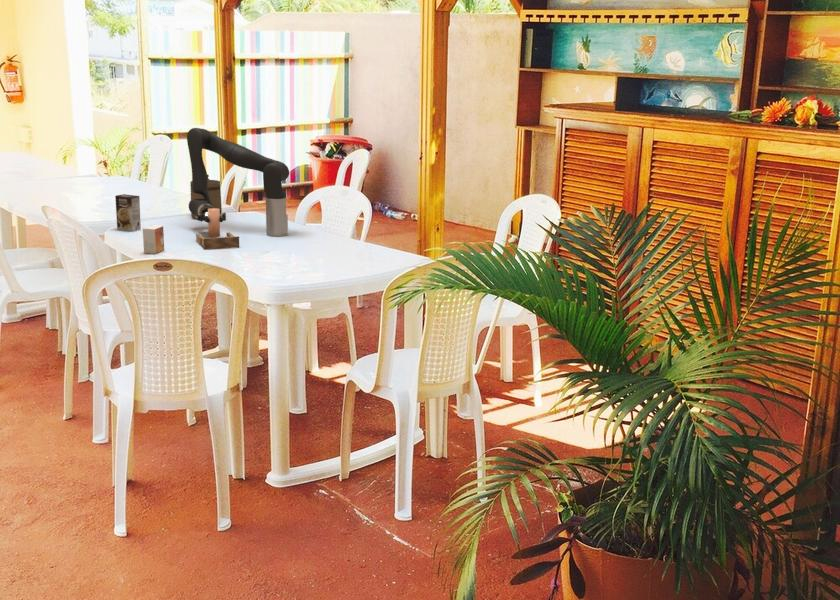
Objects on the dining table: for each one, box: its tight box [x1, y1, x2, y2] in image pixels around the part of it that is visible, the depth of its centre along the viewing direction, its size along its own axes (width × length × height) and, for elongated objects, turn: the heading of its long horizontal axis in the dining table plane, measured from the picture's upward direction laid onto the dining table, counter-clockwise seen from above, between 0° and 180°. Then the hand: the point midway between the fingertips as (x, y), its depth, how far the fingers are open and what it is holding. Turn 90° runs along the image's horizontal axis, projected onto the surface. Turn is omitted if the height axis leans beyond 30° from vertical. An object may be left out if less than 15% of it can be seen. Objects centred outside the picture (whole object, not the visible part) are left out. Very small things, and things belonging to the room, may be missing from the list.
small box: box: [142, 225, 165, 255], centre depth 396 cm, size 8×6×10 cm
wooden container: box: [189, 173, 223, 220], centre depth 471 cm, size 15×15×22 cm
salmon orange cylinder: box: [207, 208, 221, 238], centre depth 416 cm, size 5×5×12 cm
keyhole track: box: [195, 232, 240, 251], centre depth 414 cm, size 15×18×5 cm
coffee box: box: [115, 193, 142, 232], centre depth 438 cm, size 9×6×16 cm
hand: (215, 220), depth 413 cm, fingers closed on salmon orange cylinder, 5 cm apart
